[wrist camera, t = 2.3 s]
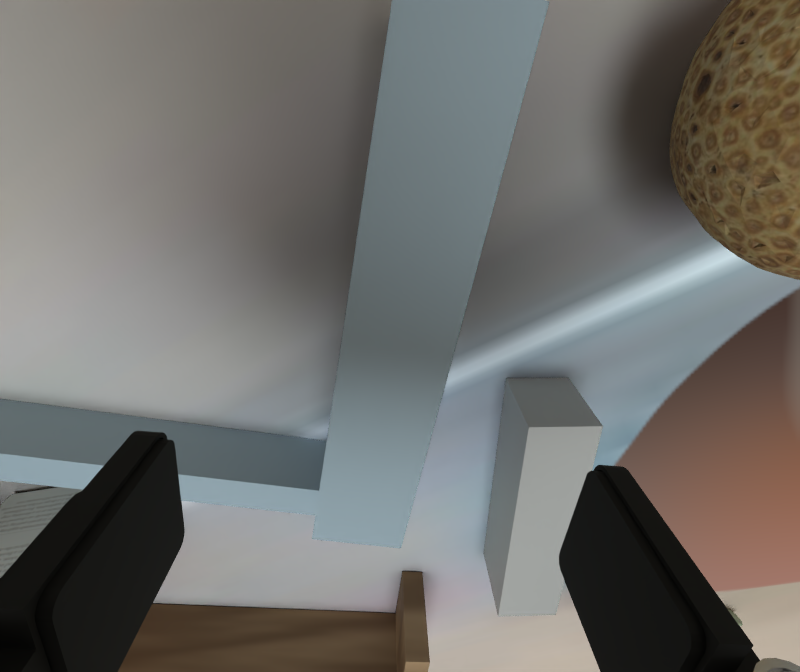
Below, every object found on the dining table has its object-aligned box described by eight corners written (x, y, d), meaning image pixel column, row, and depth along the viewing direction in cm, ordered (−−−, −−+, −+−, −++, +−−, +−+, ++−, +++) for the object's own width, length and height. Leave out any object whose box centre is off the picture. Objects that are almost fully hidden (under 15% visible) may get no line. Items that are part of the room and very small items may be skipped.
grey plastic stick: (504, 375, 22) (528, 427, 18) (566, 375, 22) (602, 426, 18) (482, 549, 27) (498, 616, 23) (532, 548, 27) (555, 615, 23)
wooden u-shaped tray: (-55, 438, 22) (-168, 521, 17) (442, 470, 24) (455, 552, 19) (15, 610, 28) (-57, 707, 23) (411, 625, 29) (416, 717, 25)
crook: (-134, -105, 13) (-480, -254, 8) (492, 41, 16) (549, 1, 10) (-6, 421, 22) (-135, 521, 16) (391, 470, 24) (394, 573, 18)
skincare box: (52, 547, 25) (-194, 864, 15) (12, 490, 23) (-306, 808, 13) (156, 531, 25) (-16, 844, 14) (124, 473, 23) (-103, 783, 12)
